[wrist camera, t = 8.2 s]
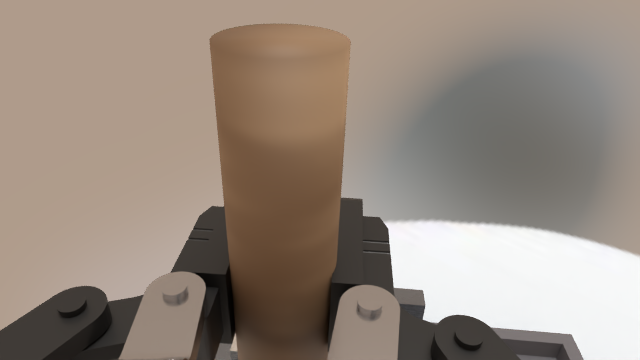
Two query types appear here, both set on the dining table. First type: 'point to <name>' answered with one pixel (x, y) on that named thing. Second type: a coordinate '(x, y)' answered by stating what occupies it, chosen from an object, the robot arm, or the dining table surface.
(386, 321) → the robot arm
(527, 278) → the dining table surface
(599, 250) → the dining table surface
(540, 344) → the tray
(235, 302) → the wooden post on base
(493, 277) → the dining table surface
